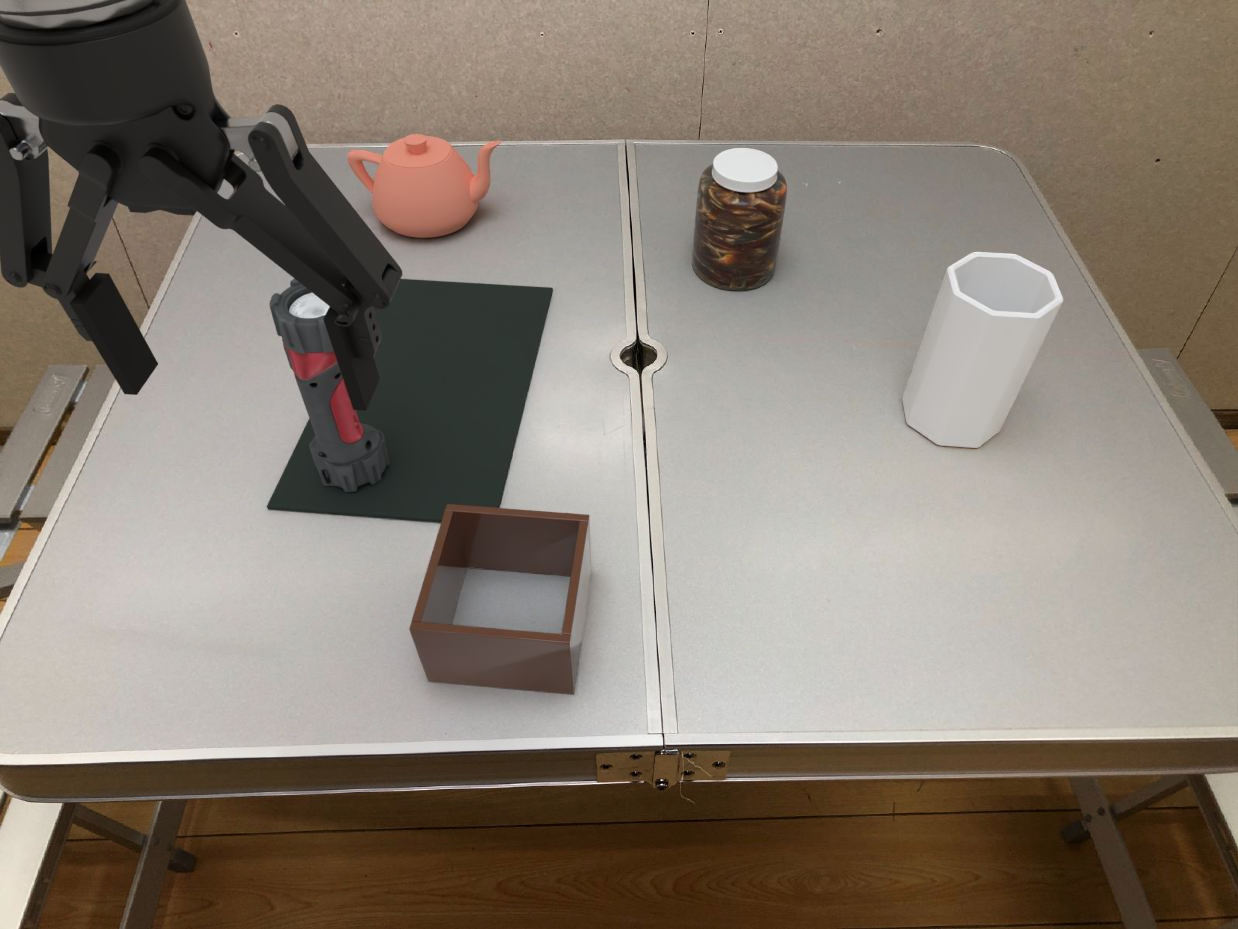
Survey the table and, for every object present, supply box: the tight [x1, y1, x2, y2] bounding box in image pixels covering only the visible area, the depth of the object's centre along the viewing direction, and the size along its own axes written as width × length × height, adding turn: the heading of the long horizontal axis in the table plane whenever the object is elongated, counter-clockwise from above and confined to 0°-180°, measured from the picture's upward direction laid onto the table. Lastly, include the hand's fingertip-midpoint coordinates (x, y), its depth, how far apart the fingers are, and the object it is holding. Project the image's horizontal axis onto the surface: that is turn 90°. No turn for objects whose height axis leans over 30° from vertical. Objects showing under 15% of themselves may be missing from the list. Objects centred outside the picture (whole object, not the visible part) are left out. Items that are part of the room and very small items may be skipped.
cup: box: [901, 251, 1064, 449], centre depth 89 cm, size 11×11×18 cm
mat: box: [266, 278, 554, 524], centre depth 99 cm, size 24×40×1 cm, turn 174°
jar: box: [691, 147, 788, 292], centre depth 110 cm, size 12×12×15 cm
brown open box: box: [409, 504, 593, 696], centre depth 75 cm, size 13×13×9 cm
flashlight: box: [268, 278, 390, 492], centre depth 82 cm, size 8×8×23 cm
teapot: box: [346, 133, 502, 239], centre depth 119 cm, size 22×15×12 cm
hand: (253, 387), depth 49 cm, fingers open, 13 cm apart
